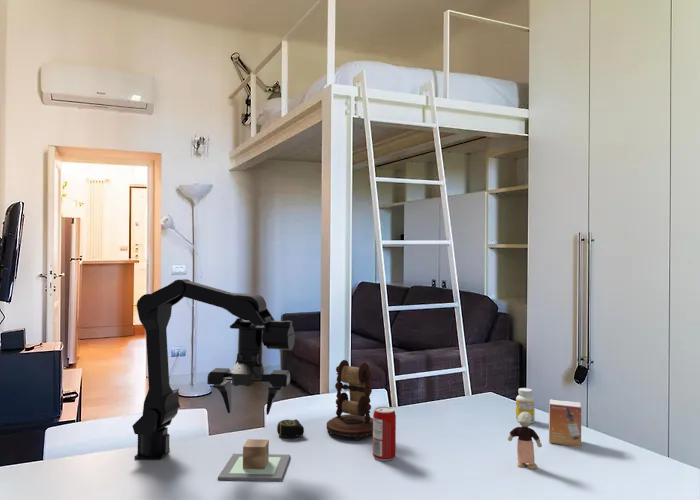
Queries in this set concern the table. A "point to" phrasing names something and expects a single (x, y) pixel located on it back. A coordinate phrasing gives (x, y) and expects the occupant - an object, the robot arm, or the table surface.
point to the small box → (565, 423)
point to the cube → (255, 454)
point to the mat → (270, 473)
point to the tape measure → (290, 428)
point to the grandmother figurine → (525, 441)
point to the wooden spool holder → (352, 402)
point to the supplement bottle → (525, 403)
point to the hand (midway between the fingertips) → (248, 413)
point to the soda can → (384, 433)
